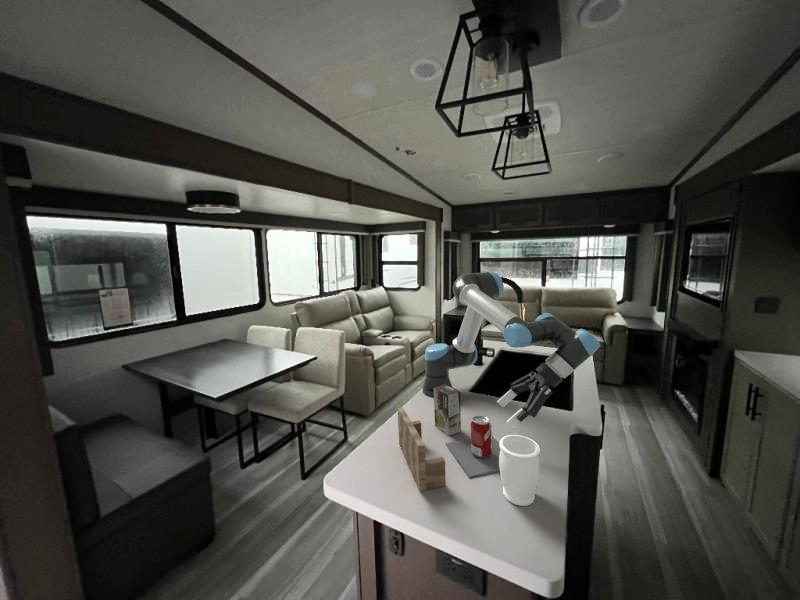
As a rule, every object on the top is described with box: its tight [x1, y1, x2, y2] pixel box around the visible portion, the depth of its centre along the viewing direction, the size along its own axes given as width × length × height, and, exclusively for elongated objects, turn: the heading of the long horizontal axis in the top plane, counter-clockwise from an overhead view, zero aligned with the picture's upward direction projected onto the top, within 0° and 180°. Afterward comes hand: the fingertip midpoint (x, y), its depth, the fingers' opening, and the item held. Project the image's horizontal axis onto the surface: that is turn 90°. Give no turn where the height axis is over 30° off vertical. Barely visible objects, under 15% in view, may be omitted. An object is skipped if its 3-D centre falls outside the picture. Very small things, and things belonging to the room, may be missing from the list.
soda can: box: [469, 415, 493, 458], centre depth 103 cm, size 7×7×12 cm
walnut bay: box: [397, 407, 447, 493], centre depth 100 cm, size 24×8×14 cm, turn 14°
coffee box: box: [433, 384, 462, 436], centre depth 121 cm, size 9×6×16 cm
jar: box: [498, 434, 541, 507], centre depth 85 cm, size 11×10×15 cm
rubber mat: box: [445, 435, 501, 479], centre depth 104 cm, size 18×18×1 cm
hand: (504, 414), depth 101 cm, fingers open, 13 cm apart
